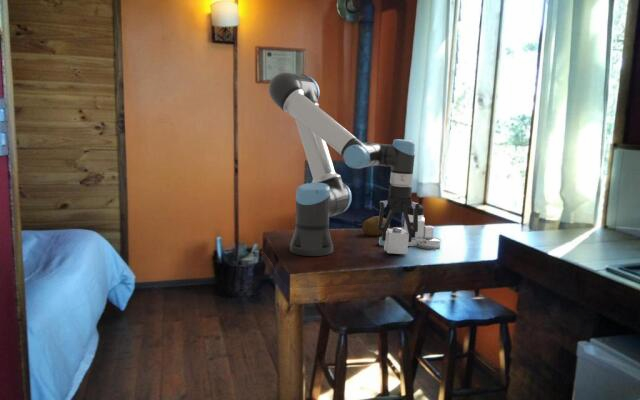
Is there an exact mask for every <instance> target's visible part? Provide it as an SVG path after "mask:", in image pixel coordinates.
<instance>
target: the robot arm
mask: <svg viewBox="0 0 640 400" xmlns="http://www.w3.org/2000/svg"><path fill="white" fill-rule="evenodd" d="M320 93H321V91H320V85H319V84H318V82H317V81H315V79H314V78H313V77H311V76H309V75H306V74H303V73H302V74H301V73H300V74H297V73H291V72H287V71H286V72H280V73H278V74H276V75H274V77H272V79H270V82H269V85H268V94H269V97H270V99H271V100H272V102H273V103H274V104H275V105H276V106H277V107H278V108H279V109H281V110H282V111H283V112H284V113H286V114H288V115H289V116H290V117H293V118H294V121H295V124H296V128H297V129H298V134H299V137H300V140H301V143H302V146H303V150H304V153H305V157H306V160H307V164H308V166H309V170H310V173H311V176H312V181H311V182H310V183H309V182H307V183H304V184H301V185H299V186H298V187H297V188H296V192H295V193H296V194H295V229H294V232H293V234H292V235H293V236H292V238H291V241H290V243H289V246H290V247H289V251H290V253H293V254H295V255H299V256H304V257H305V256H307V257H318V256H319V257H320V256H321V257H323V256H327V255H330V254H332V253H333V252H334V244H333V240H332V237H331V234H330V229H329V227H330V226H329V225H330V217H331V218H332V217H334V216H338V215H341V214H342V213H344V212H346V211H347V210H348V209H349V207H350V205H351V203H352V199H353V198H352V196H353V195H352V191H351V190H350V187H349V186H348V185H346V184H345V183H344V182H343V180H342V176H341V175H340V174H338V173H337V172H336V171H335V168H334V164H333V160H332V157H331V154H330V150H329V147H328V145H329V146H330V147H331V148H332V149H334V151H336V152H337V153H338V154H340V155H341V156H342V157H343V161H344V163H345V165H346V166H348V167H349V168H350V169H364V168H367V167H373V166H381V167H382V166H383V167H390V179H389V183H390V185H389V192H388V198H387V199H386V200H380V201H379V208H380V209H379V214H378V216H379V219H378V226H377V228H378V230H381V231H382V235H381V237H382V240H383V241H385V243H384V246H383V250H384V252H385V251H386V252H387V244H388V231H387V228H388V226H389V224H390V225H391V221H392V219H393V216H394V215H395V213H403V217H404V222H405V221H406V225H407V229H408V232H407V233H408V238H407V250H406V253H408V252H409V251H408V250H409V246H408V242H411V241H412V233H413V232H417V231H418V209H419V206H420V205H421V204H419V203H418V202H414V201H412V190H413V189H412V185H413V177H414V166H415V157H416V153H415V152H416V143H415V140H411V139H403V138H402V139H401V138H400V139H399V138H398V139H393V142H392V144H385V143H378V142H362V141H361V140H360V139H358V137H356V136H355V135H353V134H352V133H351V132H350V131H348V129H346V128H345V127H344V126H343V125H341V124H340V123H338V122H337V121H336V120H335V119H334V118H333V117H332V116H331V115H329V114H328V113H326V112H325V111H324V110H323V109H322V108H320V104H319V97H320ZM327 144H328V145H327ZM387 205H388V206H389V207H390V209H389V212H388V215H387V217H386V218H385V219H386V221H385V223H384V226H383V227H382V222H383V218H384V216H385V208H387ZM411 205H412V208H413V228H411V224H410V220H409V216H408V212H407V209H408V208H409V207H410V206H411Z"/></svg>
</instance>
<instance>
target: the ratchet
mask: <svg viewBox="0 0 640 400" xmlns="http://www.w3.org/2000/svg"><path fill="white" fill-rule="evenodd" d="M434 229H435V227H434V226H433V225H424V236H417V237H416V239H412V241H411V242H408V247H417V248H419V249H422V250H438V249H440V248H441V238H440V237H438V236H434ZM384 243H385V241H383V240H382V236H379V237H378V244H379V246H380V247H384Z"/></svg>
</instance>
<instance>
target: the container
mask: <svg viewBox="0 0 640 400" xmlns="http://www.w3.org/2000/svg"><path fill="white" fill-rule="evenodd" d="M419 205H420V206H419V209H418V231H417V232H413V233H412V239H416V237H417V236H424V226H425V222H426V221H425V217H424V211H425V207H424V206H423V205H421V204H419ZM407 212H408V216H409V220H410V224H411V228H413V208H412V205H411V206H410V207H409V208H408V209H407ZM403 225H404V226H403V229H405V230H406V232H408V229H407V225H406V221H405V220H404V224H403Z"/></svg>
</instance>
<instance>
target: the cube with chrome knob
mask: <svg viewBox="0 0 640 400" xmlns="http://www.w3.org/2000/svg"><path fill="white" fill-rule="evenodd" d="M387 231H388V244H387V251H386V252H387V254H396V255H398V254H399V255H407V252H406V250H407V238H408V233H407V232H406V230H405V229H404V228H402V227H398V226H396V227H392V228H389V229H387Z"/></svg>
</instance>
